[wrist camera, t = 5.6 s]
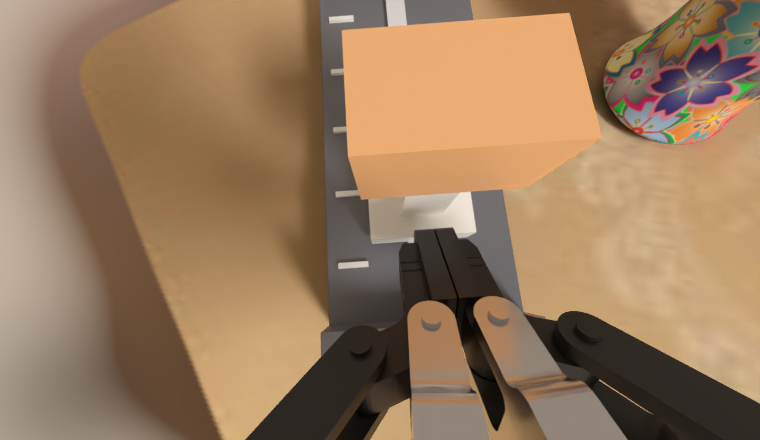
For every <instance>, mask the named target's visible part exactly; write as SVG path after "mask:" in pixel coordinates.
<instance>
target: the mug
mask: <svg viewBox="0 0 760 440" xmlns="http://www.w3.org/2000/svg"><path fill="white" fill-rule="evenodd" d="M603 88H604V94H605V97H606V100H607V102H608V105H609V106H610V108H611V110H612V111H613V113H614V114H615V115H616V117H617V118H618V119H619V120H620V121H621V122H622V123H623V124H624V125H625V126H627V127H628V128H629V129H631V130H632V131H634V132H635V133H637V134H639V135H641V136H643V137H645V138H647V139H650V140H653V141H656V142H660V143H666V144H676V145H681V144H691V143H695V142H699V141H703V140H705V139H708V138H710V137H712V136H713V135H715V134H716V133H718V132H719V131H720V130H722V129H723V128H724V127H725V126H726V124H727V123H728V122H729V121H730V120H731V119H732V118H733V117H734V116H735V115H736V114H738V113H739V112H740V111H741V110H743V109H744V108H746V107H747V106H749V105H750V104H752V103H753V102H755V101H756V100H758V99H760V0H689V1H688V2H687V3H686V4H685V5H684V6H683V7H682V8H680V9H679V10H678V11H677V12H676V13H674V14H673V15H672V16H671V17H670V18H668V19H667V20H666V21H664V22H663V23H662V24H660V25H659V26H657V27H656V28H654V29H653V30H651V31H649V32H648V33H646V34H644V35H642V36H640V37H637V38H635V39H632V40H630V41H628V42H627V43H625V44H624V45H622V46H621V47H620V48H618V49H617V50H616V51H615V52H614V54H613V55H612V56H611V58H610V59H609V61H608V63H607V65H606V68H605V71H604V77H603Z"/></svg>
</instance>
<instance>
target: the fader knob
mask: <svg viewBox="0 0 760 440" xmlns="http://www.w3.org/2000/svg"><path fill="white" fill-rule="evenodd" d="M342 45H343V65H344V86H345V106H346V127H347V147H348V158H349V162H350V165H351V168H352V172H353V175H354V178H355V181H356V185H357V188H358V191H359V194H360V198H361V200H364V199H368V203H369V219H370V235H371V242H372V244H380V243H394V242H408V241H414V230H422V229H435V228H449V227H453V228H454V230H455V233H456V235H457V237H458V238H463V237H468V236H470V235H472V234H474V233H476V225H475V219H474V212H473V205H472V198H471V192H474V191H488V190H501V189H515V188H527V187H529V186H530V185H532V184H533V183H535V182H536V181H538V180H539V179H541V178H542V177H544V176H545V175H547V174H548V173H550V172H551V171H553V170H554V169H556V168H557V167H559V166H560V165H562V164H563V163H565V162H567V161H568V160H570V159H571V158H573V157H574V156H576V155H577V154H579V153H580V152H582V151H583V150H585V149H586V148H588V147H589V146H591V145H592V144H594V143H595V142H597V141H598V140H600V139H601V138H602V135H601V131H600V127H599V123H598V120H597V116H596V112H595V108H594V104H593V100H592V97H591V93H590V89H589V85H588V81H587V77H586V74H585V70H584V66H583V62H582V58H581V55H580V51H579V47H578V43H577V39H576V35H575V32H574V28H573V24H572V20H571V16H570V13H561V14H548V15H534V16H521V17H508V18H495V19H482V20H468V21H455V22H442V23H429V24H416V25H403V26H389V27H376V28H363V29H350V30H342Z"/></svg>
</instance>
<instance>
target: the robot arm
mask: <svg viewBox="0 0 760 440" xmlns="http://www.w3.org/2000/svg"><path fill="white" fill-rule="evenodd" d="M399 278H400V288H401V295H402V303H403V311H404V315H403V317H402V318H401V320H400V321H399V322H398V323H396V324H395V325H393V326H391V327H389V328H386V329H384V330H381V331H379V330H377V329H376V328H374V327H371V326H367V325H359V326H355V327H352V328H350V329H348V330H346V331H345V332H344V333H343V334H342V335H341V336H340V337H339V338H338V339H337V340H336V341H335V342H334V343H333V345H332V346H331V347H330V348H329V349H328V350H327V351H326V352H325V353H324V354H323V355H322V357H321V358H320V359H319V360H318V361H317V362H316V363H315V364H314V365H313V366H312V368H311V369H310V370H309V371H308V372H307V373H306V374H305V375H304V376H303V377H302V378H301V380H300V381H299V382H298V383H297V384H296V385H295V386H294V387H293V388H292V389H291V390H290V392H289V393H288V394H287V395H286V396H285V397H284V398H283V399H282V400H281V401H280V402H279V404H278V405H277V406H276V407H275V408H274V409H273V410H272V411H271V412H270V413H269V414H268V416H267V417H266V418H265V419H264V420H263V421H262V422H261V423H260V424H259V425H258V426H257V428H256V429H255V430H254V431H253V432H252V433H251V434H250V435H249V436H248V437H247V439H246V440H370V439H371V437H372V435H373V434H374V432H375V431H376V429H377V427H378V426H379V424H380V422H381V421H382V419H383V418H384V416H385V414H386V413H387V411H388V409H389V408H390V407H392V406H394V405H396V404H398V403H400V402H402V401H404V400H406V399H408V398H410V420H411V440H760V404H759V403H757V402H756V401H754V400H752V399H750V398H748V397H746V396H744V395H742V394H740V393H739V392H737V391H735V390H733V389H731V388H729V387H727V386H725V385H723V384H722V383H720V382H718V381H716V380H714V379H712V378H710V377H708V376H706V375H705V374H703V373H701V372H699V371H697V370H695V369H693V368H691V367H689V366H688V365H686V364H684V363H682V362H680V361H678V360H676V359H674V358H672V357H670V356H669V355H667V354H665V353H663V352H661V351H659V350H657V349H655V348H653V347H652V346H650V345H648V344H646V343H644V342H642V341H640V340H638V339H636V338H635V337H633V336H631V335H629V334H627V333H625V332H623V331H621V330H619V329H618V328H616V327H614V326H612V325H610V324H608V323H606V322H604V321H602V320H601V319H599V318H597V317H595V316H592V315H590V314H587V313H584V312H578V311H569V312H565V313H563V314H562V315H561V316H560V317H559V318H558V320H557V321H553V320H548V319H543V318H538V317H533V316H529V315H526V314H524V313H522V311H521V310H520V309H519V308H518V307H517V306H516V305H515V304H514V303H512V302H511V301H509V300H507V299H505V298H504V297H503V295H502V293H501V291H500V289H499V288H498V286H497V284H496V282H495V280H494V278H493V276H492V274H491V272H490V271H489V269H488V267H487V266H486V263H485V261H484V259H483V258H482V255H481V253H480V252H479V250H478V248H477V246H475V245H474V244H473V243H472V242H471V241H469V240H468V239H458V237H457V235H456V233H455V230H454V228H453V227H449V228H435V229H422V230H414V243H405V244H402V246H401V248H400V251H399ZM462 346H463V349H464V352H465V358H464V354H463V349H462ZM599 379H600V380H602V381H603V382H605V383H606V384H608V385H609V386H611V387H612V388H614V389H615V390H617V391H618V392H620V393H621V394H623V395H625V396H626V397H628V398H629V399H631V400H632V401H634V402H635V403H637V404H638V405H640V406H641V407H643V408H644V409H646V410H648V411H649V412H651V413H652V414H654V415H652V414H650V413H648V412H646V411H645V410H643V409H641V408H640V407H638V406H637V405H635V404H634V403H632V402H631V401H629V400H628V399H626V398H625V397H623V396H622V395H620V394H619V393H617V392H616V391H614V390H613V389H611V388H609V387H608V386H606V385H605V384H603V383H602V382H600V381H599ZM488 433H489V434H488ZM489 436H490V439H489Z"/></svg>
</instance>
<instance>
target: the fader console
mask: <svg viewBox="0 0 760 440" xmlns="http://www.w3.org/2000/svg"><path fill="white" fill-rule="evenodd" d="M468 20H473V15H472V9H471V3H470V0H320V21H321V55H322V89H323V122H324V156H325V190H326V224H327V258H328V292H329V326H328V327H327V328H326V329H325V330H323V331H322V332H321V357H322V355H323V354H324V353H325V352H326V351H327V350H328V349H329V348H330V347H331V346H332V345H333V343H334V342H335V341H336V340H337V339H338V338H339V337H340V336H341V335H342V334H343V333H344V332H345V331H346V330H348V329H350V328H352V327H355V326H359V325H367V326H371V327H374V328H376V329H377V330H379V331H381V330H384V329H386V328H389V327H391V326H393V325H395V324H396V323H398V322H399V321H400V320H401V318H402V317H403V315H404V311H403V303H402V295H401V288H400V278H399V251H400V248H401V246H402V244H405V243H414V241H408V242H394V243H380V244H372V242H371V235H370V219H369V203H368V199H364V200H361V198H360V194H359V191H358V188H357V185H356V181H355V178H354V175H353V172H352V168H351V165H350V162H349V158H348V147H347V127H346V106H345V86H344V65H343V45H342V30H350V29H363V28H376V27H389V26H403V25H416V24H429V23H442V22H455V21H468ZM471 198H472V205H473V212H474V219H475V225H476V233H474V234H472V235H470V236H468V237H463V238H458V239H468V240H469V241H471V242H472V243H473V244H474V245H475V246H477V248H478V250H479V252H480V253H481V255H482V258H483V259H484V261H485V263H486V266H487V267H488V269H489V271H490V272H491V274H492V276H493V278H494V280H495V282H496V284H497V286H498V288H499V289H500V291H501V293H502V295H503V297H504V298H505V299H507V300H509V301H511V302H512V303H514V304H515V305H516V306H517V307H518V308H519V309H520V310H521V311H522V313H524V314H526V315H529V316H533V317H538V318H543V319H545V317H543V316H538V315H534V314H530V313H525V312H523V308H522V302H521V296H520V290H519V285H518V279H517V273H516V267H515V261H514V255H513V249H512V244H511V238H510V232H509V226H508V220H507V214H506V208H505V203H504V197H503V191H502V189H501V190H488V191H474V192H471ZM462 347H463V346H462Z"/></svg>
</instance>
